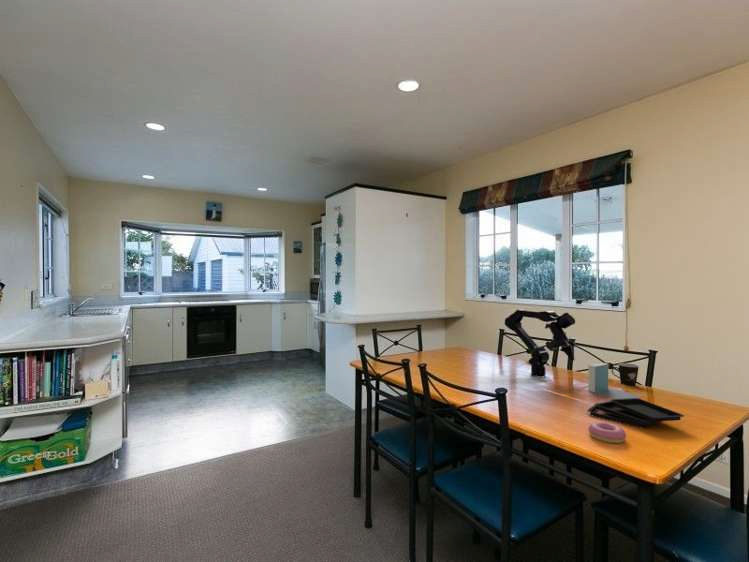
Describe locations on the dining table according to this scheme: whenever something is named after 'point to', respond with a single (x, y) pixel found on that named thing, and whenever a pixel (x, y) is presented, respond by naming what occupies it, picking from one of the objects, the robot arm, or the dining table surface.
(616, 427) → the doughnut
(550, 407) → the dining table surface
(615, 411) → the tray
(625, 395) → the slate board
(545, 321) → the robot arm
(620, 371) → the coffee mug
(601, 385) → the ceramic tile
